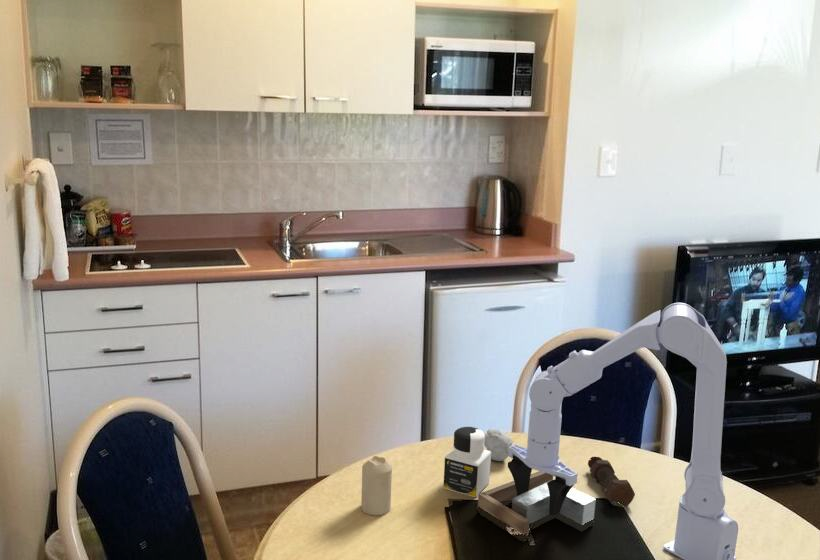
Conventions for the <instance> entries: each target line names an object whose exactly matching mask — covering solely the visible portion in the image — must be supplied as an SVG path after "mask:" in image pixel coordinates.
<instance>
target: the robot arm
mask: <svg viewBox="0 0 820 560" xmlns="http://www.w3.org/2000/svg"><path fill="white" fill-rule="evenodd" d="M661 345H662V346H663V347H664V348H665V349H666V350H667V351H670V352H671V353H673V354H676V355H678V356H681V357H682V358H685V359H687V361H689V362H690V363H691V364H692V365H693V366H694V367H695V368H696V374H695V375H696V378H695V395H694V397H695V398H694V408H693V409H694V413H693V427H692V428H693V431H692V444H691V445H692V446H691V455H690V461H689V464H688V465H687V466H686V468H685V470H684V481H685V482H684V483H685V492H684V493H683V494H682V495H681V496H680V497H679V503H678V509H677V510H678V511H677V518H676V519H677V520H676V526H675V527H676V528H675V535H674V539H673V540H671V541H670V542H667V543H665V544H663V546H662V548H663V549H664V550H665V551H667V552H669V553H671V554H673V555H674V556H677V557H678V558H680V559H682V560H737V556H736V555H735V554H736V553H735V552H736V548H737V541H738V535H739V525H738V521H736V520H735V519H734V518H732V517H730V516H729V514H728V513H726V511H725V505H726V496H725V493H724V486H723V482H724V481H723V478H724V477H723V473H722V470H721V458H722V457H721V455H722V440H723V438H722V437H723V425H724V424H723V423H724V413H725V412H724V411H725V410H724V409H725V395H726V394H725V392H726V380H727V379H726V378H727V364H728V361H727V360H728V359H727V353H726V350H725V349H724V347H723V345H722V344H721V342H720V341H719V340H718V338H717V336H716V335H715V333H714V331H713V330H712V329H711V327H710V325H709V323H708V322H707V320H706V318H705V316H704V315H703V314H702V313H700V312H699V311H698V310H697V309H695V308H694V307H692V306H691V305H690V304H687V303H686V302H685V303H684V302H674V303H671V304H669V305H667V306H665V308H664V309H663V310H662V312H661V309H659V310H656V311H655V312H653V313H651V314H649V315H648V316H646V317H644V318H643V319H641V320H639V321H638V322H636V323H635V324H634V325H632V326H630V327H629V328H627V329H626V330H624V331H622V332H621V333H620V334H619V335H616V336H615V337H613V338H612V339H611V340H609V341H607V342H606V343H604V344H603V345H602V346H600V347H598V348H597V349H596V350H594V351H592V350H586V349H581V350H579V352H577V350H575V349H574V350H573V351H571V352H569V354H568V358H567V359H565V360H564V361H562V362H560V363H558V364H557V365H555V366H553V365H550V366H548V367H547V369H546V370H543V371H541V372H539V373H538V374H537V375H536V377H535V379H534V380H533V381H532V384H531V385H530V388H529V392H528V395H529V400H530V410H529V418H528V427H527V428H528V430H527V442H526V443H527V444H526V447H524V446H520V445H518V444H516V443H515V444H512V446H510V447H509V449H508V458H511V460H510V461H508V462H507V468H508V470H509V471H510V474H511V476H512V478H513V481H514V482H515V486H516V491H517V496H519V495H521V494H523V493H525V492H528V491H529V482H530V475H531V474H532V470H534V471H537V472H538V471H541V472H545V473H548V474H550V475H552V476H553V478H554V479H555V480H552V481H549V482H547V486H548V489H549V495H550V505H549V514H550V515H551V516H555V515H557V514H559V513H560V510H561V507H562V504H563V502H564V499H565V497H566V496H567V494H568V492H569V491H570V489H571V488H574V486H575V485H576V484H577V483H578V472H575V471H574V470H572V469H571V468H570V467H568V465H566V464H565V463H564V462H562V461H561V460H560V455H559V452H560V441H561V430H562V429H561V428H562V417H563V415H562V406H563V405H562V403H563V400H564V398H566V397H570V396H573V395H574V394H576V393H578V392H579V391H582V390H583V389H584V388H586V387H588V386H590V385H591V384H593V383H595V382H597V381H598V380H600V379H601V378H602V376H603V370H604V368H606V367H608V366H611V364H614V363H615V362H617V361H620V360H621V359H623V358H625V357H627V356H629V355H631V354H634V352H636V351H638V350H640V349H643V348H644V349H649V350H655V351H660V350H661Z"/></svg>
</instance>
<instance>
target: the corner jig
mask: <svg viewBox="0 0 820 560" xmlns="http://www.w3.org/2000/svg"><path fill="white" fill-rule="evenodd" d="M553 479H554V476H552V475H550V474H548V473H545V472H541V471H538V470H537V471H536V472H533V473H531V475H530V482H529V491H530V490H532V489H534V488H536V487H538V486H540V485H543V484H545V483H547V482H549V481H551V480H553ZM515 497H517V491H516V486H515V482H514V480H511V481H508V482H506V483H504V484H501V485H498V486H496V487H493V488H490V489H488V490H485V491H481V492H480V493H479V494H478V496H477V508H478V507H480V508H481V509H483V510H484V511H486V512H488V513H489V514H491V515H492V516H494V517H496V518H497V519H499V520H501V521H502V522H504V523H506V524H507V525H509V526H511V527H512V528H514V529H516V530H517V531H519V532H520V533H522V534H523V535H524V534H526V533H528V534H529V533H530V532H529V520H528V519H526V518H524V517H523V516H521V515H520V514H518V513H516V512H515V511H513V510H512V508H510V507H508V506H505V505H503V504H502V503H500V502H502V501H508V500H513V498H515Z"/></svg>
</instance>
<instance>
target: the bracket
mask: <svg viewBox="0 0 820 560" xmlns="http://www.w3.org/2000/svg"><path fill="white" fill-rule="evenodd" d="M553 480H555V478H553ZM551 481H552V480H551ZM549 505H550V495H549V489H548V486H547V483H545V484H543V485H540V486H538V487H536V488H534V489H532V490H530V491H528V492H525V493H523V494H521V495H519V496H517V497H515V498H513V500H512V504H511V510H513V511H515V512H516V513H518V514H520V515H521V516H523V517H524V518H526V519H528V520H529V524H530V523H533V522H535V521H537V520H539V519H541V518H543V517H545V516H547V515H549ZM595 510H596V498H595V497H592V496H590V495H589V494H587V493H585V492H582V491H580V490H578V489H576V488H574V487H572V488H571V489H570V491H569V492H568V494H567V496H566V497H565V499H564V502H563V504H562V507H561V510H560V514H562V515H564V516H566V517H567V518H570V519H572V520H574V521H575V522H577V523H579V524H581V525H584V524H585V523H587V522H589V521H591V520H593V519H595V512H596V511H595Z"/></svg>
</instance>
